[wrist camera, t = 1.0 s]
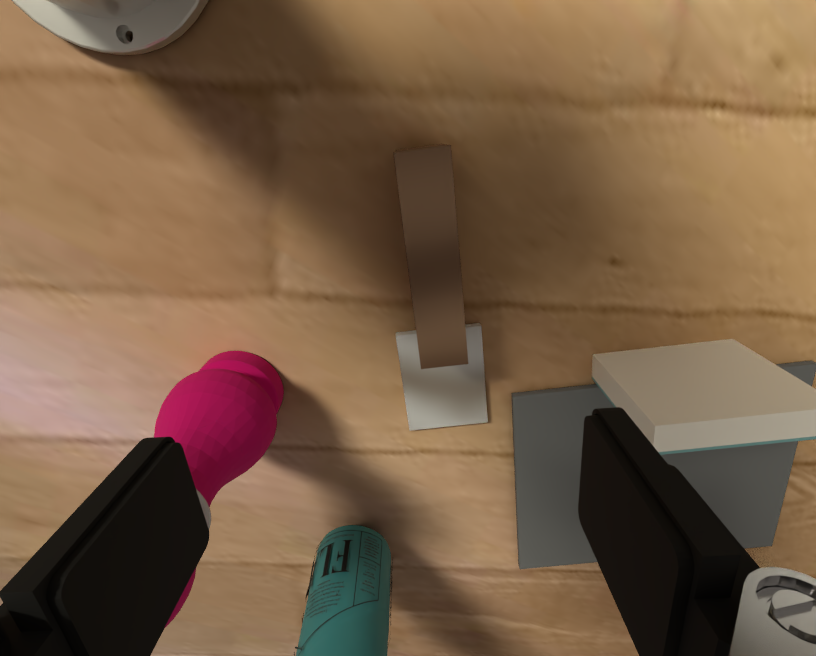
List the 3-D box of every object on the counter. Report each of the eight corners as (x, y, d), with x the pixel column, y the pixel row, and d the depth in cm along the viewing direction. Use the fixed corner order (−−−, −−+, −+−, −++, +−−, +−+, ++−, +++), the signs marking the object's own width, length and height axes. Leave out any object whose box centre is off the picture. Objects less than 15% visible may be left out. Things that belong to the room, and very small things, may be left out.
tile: (592, 354, 33) (655, 426, 25) (732, 338, 33) (844, 406, 24) (591, 378, 34) (652, 455, 26) (728, 363, 33) (835, 436, 25)
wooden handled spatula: (369, 153, 28) (361, 156, 22) (467, 140, 28) (483, 140, 22) (409, 426, 35) (410, 479, 30) (486, 417, 35) (501, 469, 30)
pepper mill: (310, 383, 34) (195, 676, 15) (255, 443, 36) (95, 765, 17) (227, 324, 32) (-15, 576, 14) (174, 391, 34) (-99, 689, 16)
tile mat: (511, 393, 34) (513, 396, 34) (811, 360, 33) (817, 363, 33) (518, 564, 41) (519, 569, 41) (767, 541, 40) (771, 545, 40)
